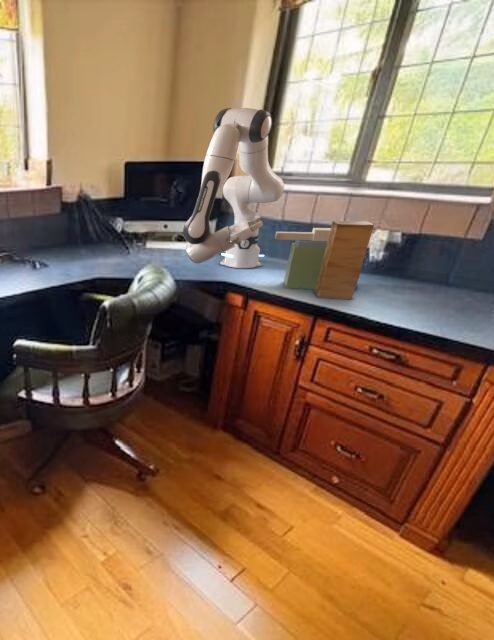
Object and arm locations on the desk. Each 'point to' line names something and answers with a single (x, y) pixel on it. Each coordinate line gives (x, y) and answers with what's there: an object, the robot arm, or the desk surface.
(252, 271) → the desk surface
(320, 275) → the oak stand
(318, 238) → the beige stepped bar
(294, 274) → the green upright rectangular block
